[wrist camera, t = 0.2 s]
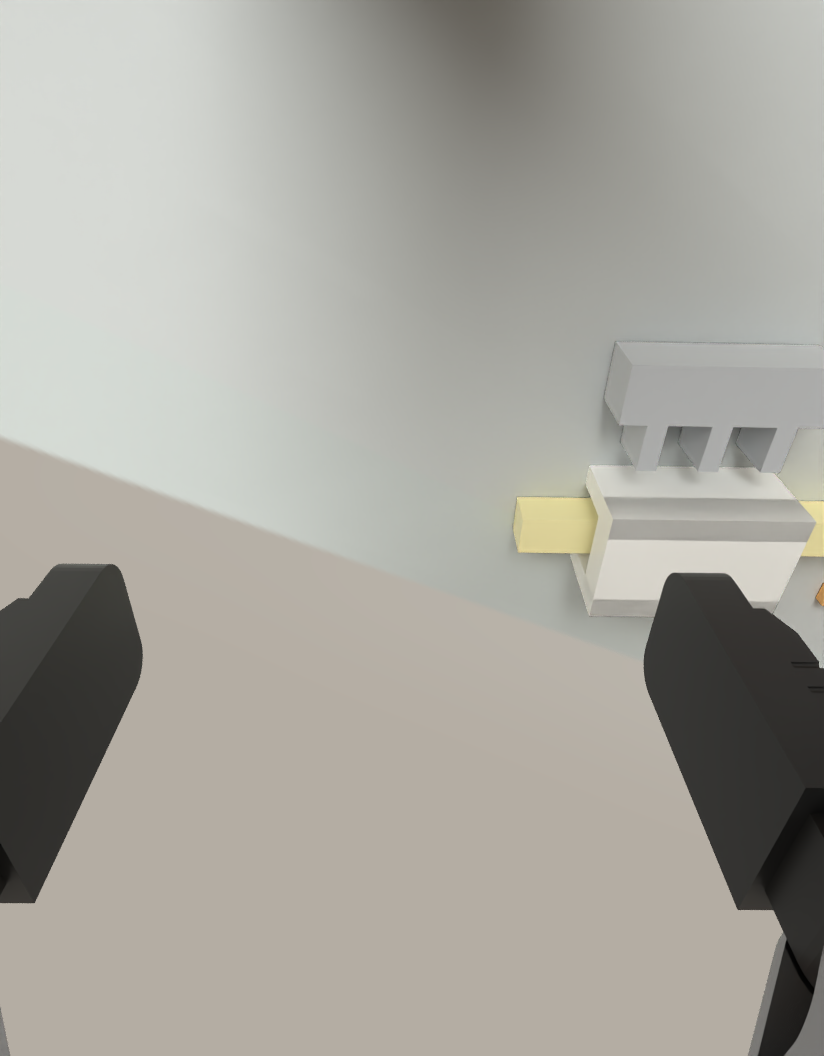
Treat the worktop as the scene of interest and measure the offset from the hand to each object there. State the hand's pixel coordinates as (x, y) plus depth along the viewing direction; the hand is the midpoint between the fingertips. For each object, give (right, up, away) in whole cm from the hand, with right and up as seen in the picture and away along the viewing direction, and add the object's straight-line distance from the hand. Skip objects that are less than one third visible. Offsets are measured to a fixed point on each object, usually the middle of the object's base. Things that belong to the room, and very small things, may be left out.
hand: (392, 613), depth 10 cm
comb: (+12, +8, +16) cm, 22 cm away
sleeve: (+12, +2, +21) cm, 24 cm away
